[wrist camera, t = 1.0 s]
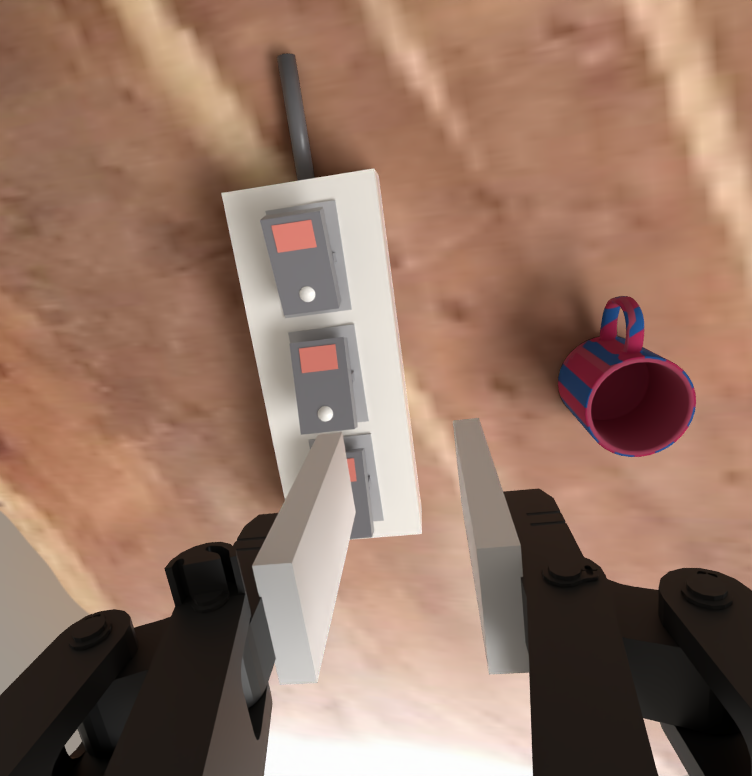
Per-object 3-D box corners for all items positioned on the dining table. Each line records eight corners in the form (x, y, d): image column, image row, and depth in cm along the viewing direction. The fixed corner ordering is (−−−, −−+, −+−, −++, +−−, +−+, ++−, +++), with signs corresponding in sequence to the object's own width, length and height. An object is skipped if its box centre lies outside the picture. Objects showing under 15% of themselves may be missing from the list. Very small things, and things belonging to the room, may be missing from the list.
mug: (554, 421, 40) (580, 456, 34) (564, 290, 38) (595, 302, 31) (644, 421, 40) (688, 457, 33) (661, 289, 37) (712, 300, 31)
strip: (214, 73, 35) (180, 46, 30) (361, 45, 34) (352, 13, 29) (302, 517, 45) (288, 554, 39) (421, 507, 43) (421, 543, 38)
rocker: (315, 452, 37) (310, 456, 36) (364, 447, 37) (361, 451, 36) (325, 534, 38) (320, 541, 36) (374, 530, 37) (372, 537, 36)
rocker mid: (295, 344, 35) (289, 343, 34) (347, 337, 35) (343, 336, 33) (305, 431, 36) (300, 434, 34) (357, 426, 35) (354, 429, 34)
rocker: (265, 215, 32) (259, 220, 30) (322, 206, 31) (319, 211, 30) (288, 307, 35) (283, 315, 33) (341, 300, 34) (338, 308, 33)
